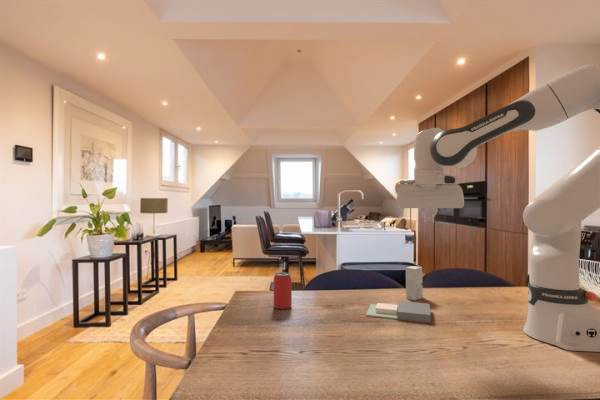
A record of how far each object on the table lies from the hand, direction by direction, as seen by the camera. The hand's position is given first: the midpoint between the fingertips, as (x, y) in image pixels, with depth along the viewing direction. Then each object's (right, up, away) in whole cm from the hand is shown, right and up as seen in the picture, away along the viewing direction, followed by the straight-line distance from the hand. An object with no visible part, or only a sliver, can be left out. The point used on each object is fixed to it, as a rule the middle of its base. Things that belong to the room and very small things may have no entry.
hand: (429, 222), depth 105 cm
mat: (-13, -31, +8) cm, 35 cm away
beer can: (-48, -32, +14) cm, 59 cm away
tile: (-12, -31, +7) cm, 34 cm away
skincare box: (+4, -32, +24) cm, 40 cm away
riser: (-4, -31, +4) cm, 32 cm away
